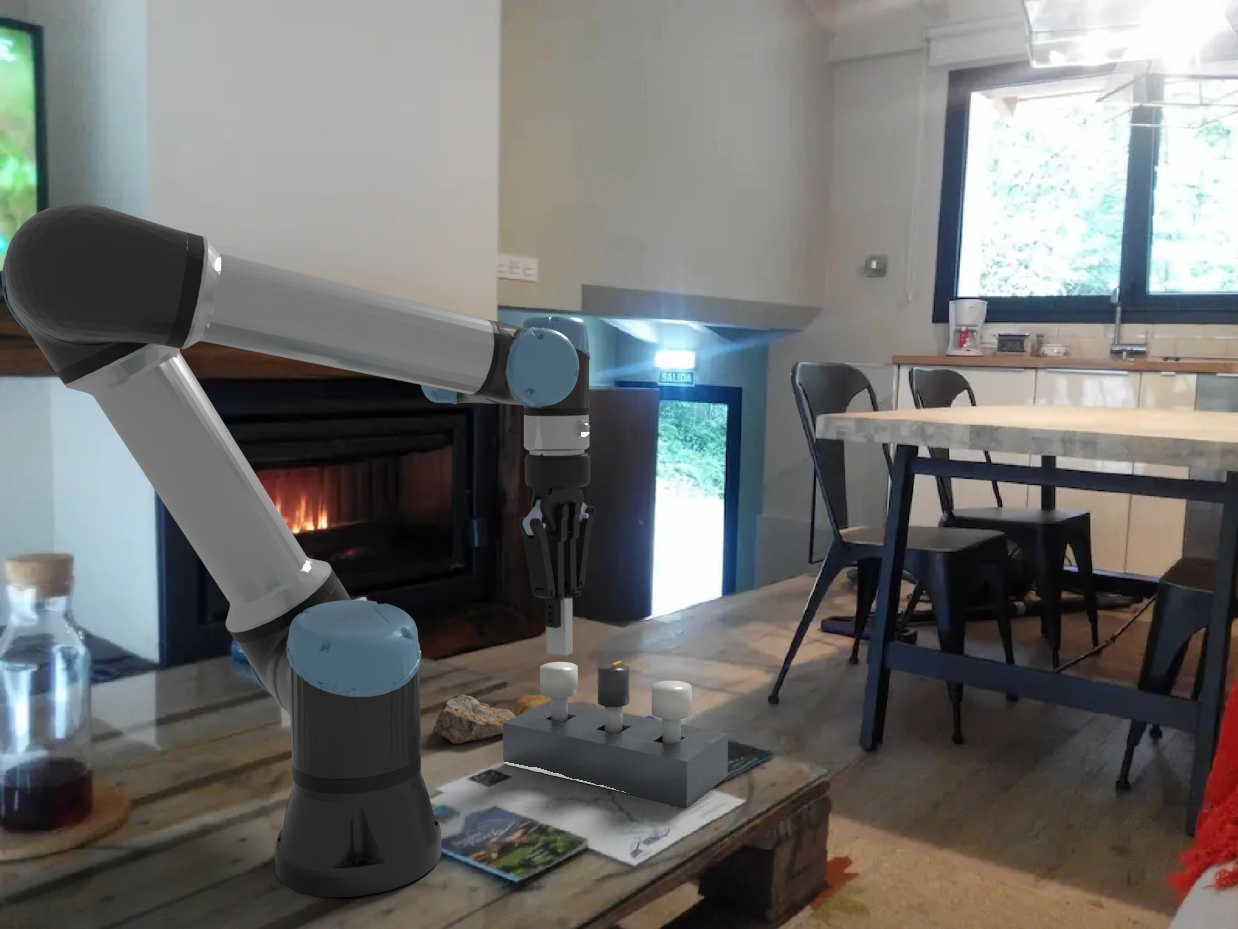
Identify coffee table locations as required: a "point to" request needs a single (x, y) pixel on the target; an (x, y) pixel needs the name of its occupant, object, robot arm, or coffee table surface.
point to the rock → (469, 720)
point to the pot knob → (613, 693)
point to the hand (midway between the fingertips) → (559, 652)
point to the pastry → (529, 703)
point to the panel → (619, 753)
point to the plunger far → (559, 687)
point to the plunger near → (671, 707)
